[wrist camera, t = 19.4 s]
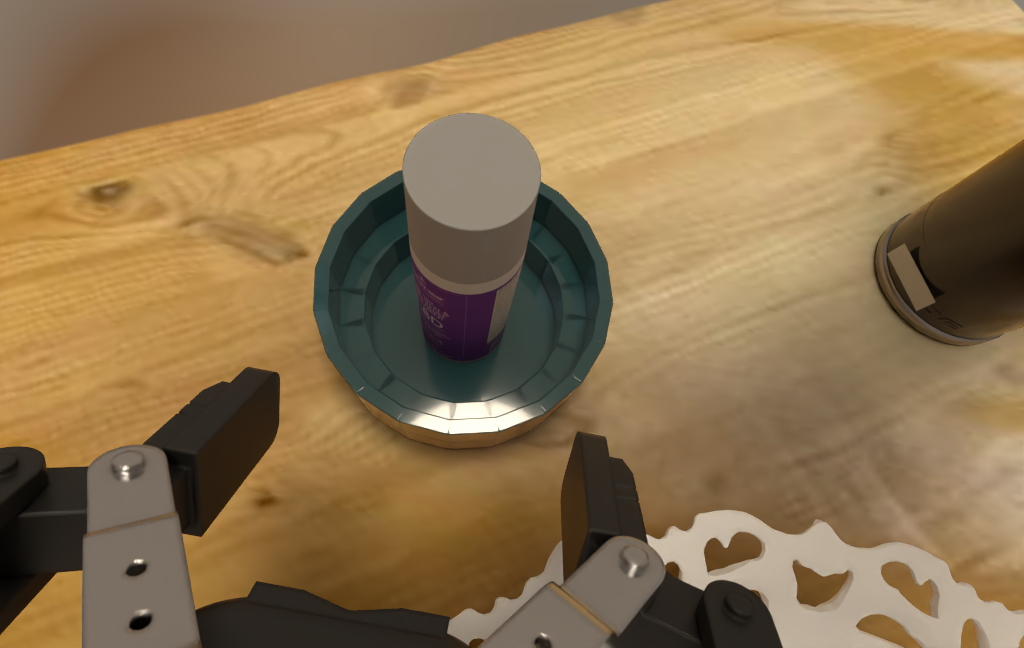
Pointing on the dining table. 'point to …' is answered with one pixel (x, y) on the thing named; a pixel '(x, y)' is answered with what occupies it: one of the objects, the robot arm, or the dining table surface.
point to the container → (468, 228)
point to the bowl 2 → (801, 628)
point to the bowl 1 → (424, 374)
